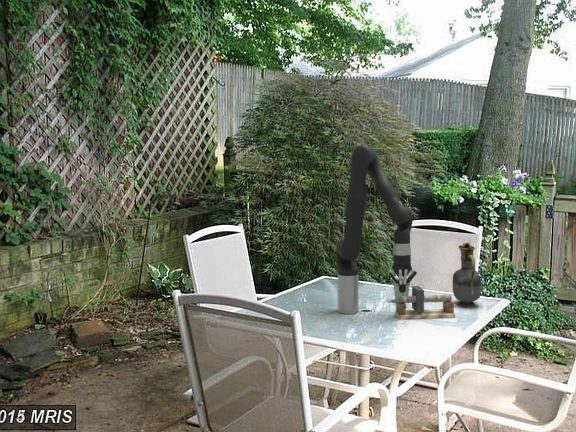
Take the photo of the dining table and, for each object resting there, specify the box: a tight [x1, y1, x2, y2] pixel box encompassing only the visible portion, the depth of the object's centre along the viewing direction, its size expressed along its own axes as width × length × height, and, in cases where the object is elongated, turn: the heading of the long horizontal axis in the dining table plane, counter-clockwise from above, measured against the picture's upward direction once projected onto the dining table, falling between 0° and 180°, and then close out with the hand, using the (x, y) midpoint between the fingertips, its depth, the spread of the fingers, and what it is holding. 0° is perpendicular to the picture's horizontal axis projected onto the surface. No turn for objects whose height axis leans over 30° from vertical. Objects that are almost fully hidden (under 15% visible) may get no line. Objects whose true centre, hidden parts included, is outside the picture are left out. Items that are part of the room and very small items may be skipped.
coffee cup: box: [392, 275, 411, 303], centre depth 295 cm, size 8×8×12 cm
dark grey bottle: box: [452, 241, 482, 307], centre depth 284 cm, size 11×19×30 cm, turn 0°
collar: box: [411, 285, 425, 313], centre depth 268 cm, size 3×9×10 cm, turn 2°
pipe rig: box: [394, 294, 456, 321], centre depth 269 cm, size 24×10×9 cm, turn 92°
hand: (402, 292), depth 268 cm, fingers closed
